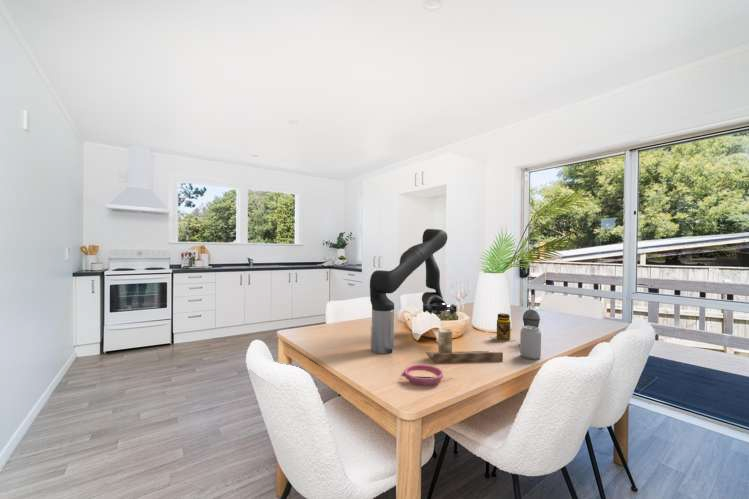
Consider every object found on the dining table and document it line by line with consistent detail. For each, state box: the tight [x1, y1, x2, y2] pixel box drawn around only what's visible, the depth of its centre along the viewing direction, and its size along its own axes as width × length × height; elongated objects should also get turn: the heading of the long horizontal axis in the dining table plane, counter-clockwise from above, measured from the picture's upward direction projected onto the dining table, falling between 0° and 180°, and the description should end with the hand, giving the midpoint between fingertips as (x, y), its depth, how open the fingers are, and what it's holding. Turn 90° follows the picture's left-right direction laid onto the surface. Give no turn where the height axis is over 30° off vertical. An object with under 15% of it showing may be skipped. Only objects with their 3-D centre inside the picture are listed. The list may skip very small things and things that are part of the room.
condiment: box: [490, 313, 514, 342], centre depth 156 cm, size 7×8×12 cm
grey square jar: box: [519, 325, 542, 360], centre depth 130 cm, size 8×8×12 cm
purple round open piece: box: [403, 364, 444, 387], centre depth 106 cm, size 12×12×3 cm
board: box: [425, 350, 504, 364], centre depth 125 cm, size 26×12×4 cm, turn 97°
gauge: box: [437, 328, 453, 353], centre depth 123 cm, size 4×7×10 cm
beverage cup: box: [522, 299, 541, 328], centre depth 148 cm, size 7×7×20 cm
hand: (441, 311), depth 135 cm, fingers open, 8 cm apart
